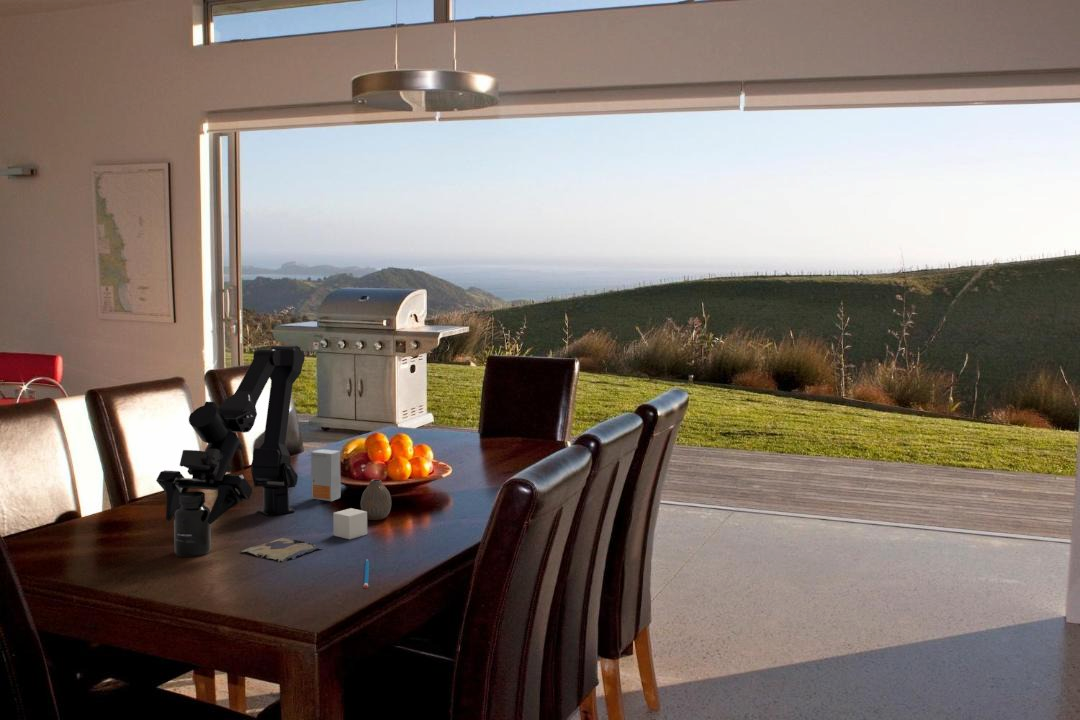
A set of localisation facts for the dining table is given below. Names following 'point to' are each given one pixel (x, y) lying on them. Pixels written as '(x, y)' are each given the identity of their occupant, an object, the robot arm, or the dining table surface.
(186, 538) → the supplement bottle
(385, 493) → the vase
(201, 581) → the dining table surface
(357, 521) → the cream ceramic block
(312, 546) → the parchment
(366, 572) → the pencil
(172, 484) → the robot arm
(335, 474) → the skincare box
